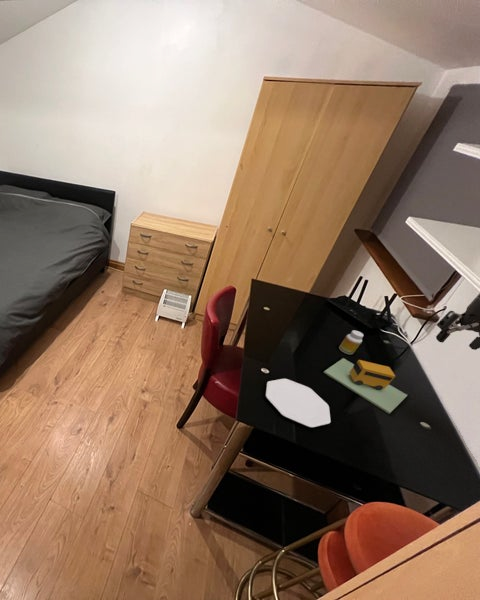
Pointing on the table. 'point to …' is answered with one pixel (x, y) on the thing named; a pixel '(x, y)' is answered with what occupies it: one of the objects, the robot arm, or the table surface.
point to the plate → (298, 403)
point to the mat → (366, 387)
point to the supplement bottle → (351, 342)
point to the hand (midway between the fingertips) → (455, 344)
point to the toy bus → (371, 374)
